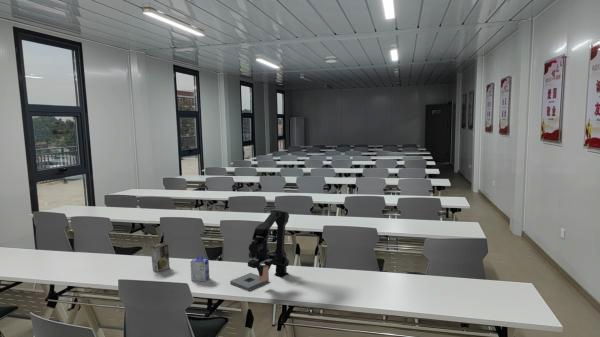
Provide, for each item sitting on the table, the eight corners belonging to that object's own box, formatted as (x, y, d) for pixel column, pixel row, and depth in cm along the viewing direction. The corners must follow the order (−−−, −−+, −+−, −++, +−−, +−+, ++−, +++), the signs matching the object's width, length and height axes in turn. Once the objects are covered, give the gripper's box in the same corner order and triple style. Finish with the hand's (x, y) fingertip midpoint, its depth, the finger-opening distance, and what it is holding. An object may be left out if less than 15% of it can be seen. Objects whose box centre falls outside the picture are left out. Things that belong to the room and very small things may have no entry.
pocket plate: (250, 275, 243) (250, 272, 243) (268, 281, 232) (268, 278, 232) (230, 283, 231) (230, 280, 231) (248, 290, 220) (248, 287, 220)
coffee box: (164, 265, 264) (162, 242, 262) (169, 267, 260) (168, 244, 258) (152, 270, 256) (150, 246, 254) (157, 272, 253) (156, 247, 251)
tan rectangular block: (264, 277, 226) (263, 264, 225) (268, 279, 223) (268, 266, 222) (258, 280, 223) (258, 266, 222) (263, 281, 220) (263, 268, 219)
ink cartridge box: (210, 278, 241) (208, 255, 239) (206, 281, 235) (204, 258, 234) (195, 277, 243) (193, 254, 241) (190, 280, 237) (189, 257, 236)
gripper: (264, 241, 233) (265, 266, 235) (240, 249, 219) (241, 276, 221) (278, 245, 226) (279, 271, 228) (254, 253, 212) (255, 281, 214)
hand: (263, 274), depth 223 cm, fingers closed on tan rectangular block, 4 cm apart
